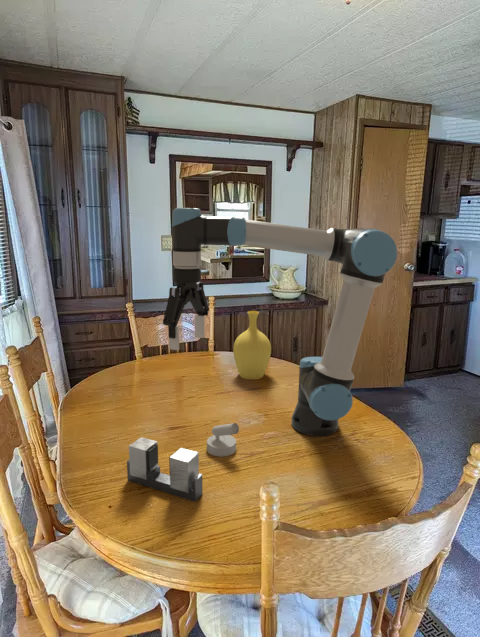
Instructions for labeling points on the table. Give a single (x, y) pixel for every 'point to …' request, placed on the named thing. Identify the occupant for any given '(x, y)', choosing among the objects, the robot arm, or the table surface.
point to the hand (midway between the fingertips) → (187, 343)
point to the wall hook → (222, 440)
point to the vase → (252, 350)
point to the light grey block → (143, 457)
